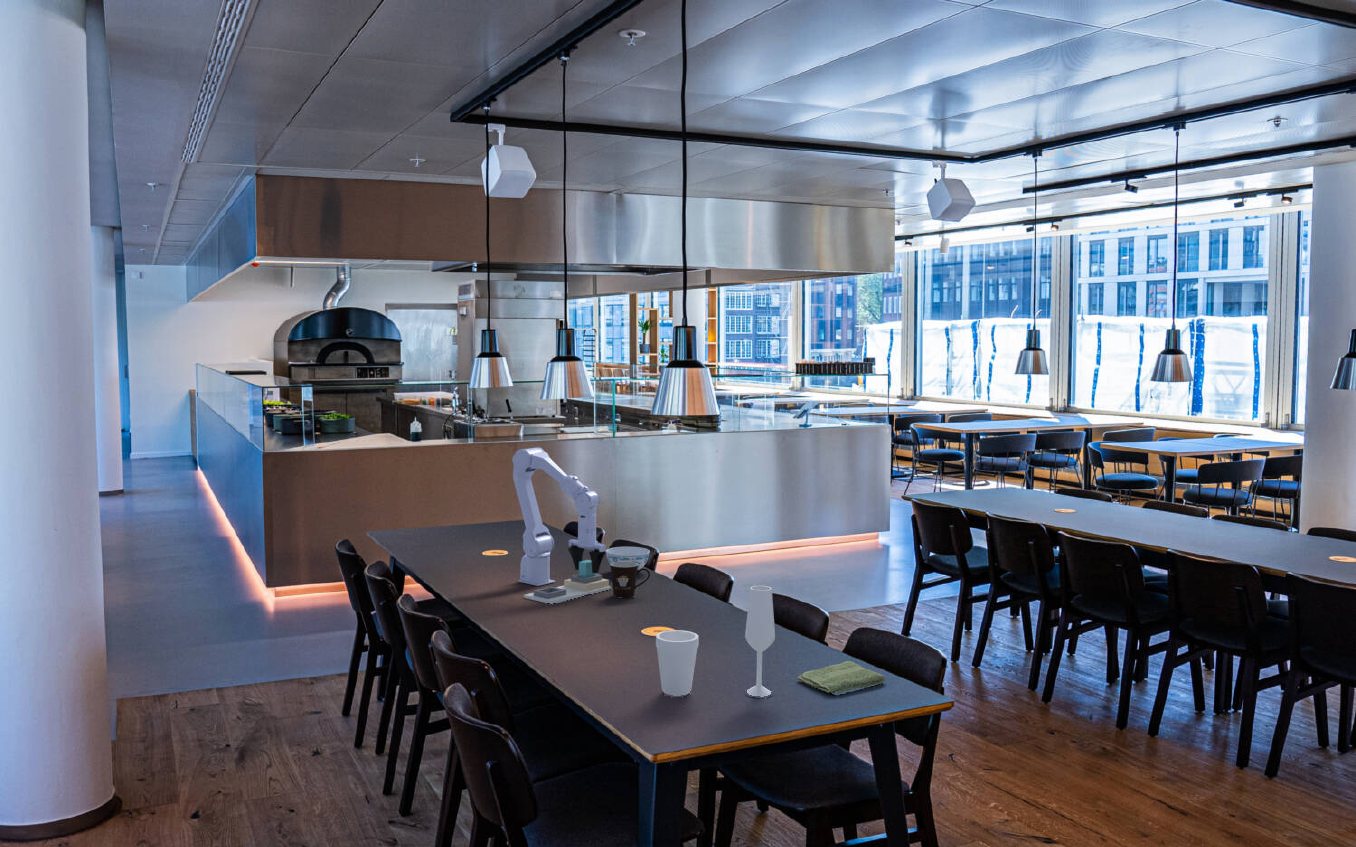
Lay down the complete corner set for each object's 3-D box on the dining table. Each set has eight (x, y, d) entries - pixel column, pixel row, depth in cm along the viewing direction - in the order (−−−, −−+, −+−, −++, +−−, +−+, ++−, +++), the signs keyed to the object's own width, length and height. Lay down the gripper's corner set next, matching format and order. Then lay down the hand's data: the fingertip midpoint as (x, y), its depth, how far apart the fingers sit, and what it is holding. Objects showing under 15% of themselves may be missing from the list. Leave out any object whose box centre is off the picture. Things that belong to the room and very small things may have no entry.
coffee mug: (604, 597, 316) (605, 565, 315) (619, 591, 324) (619, 560, 323) (637, 601, 311) (637, 569, 310) (651, 596, 318) (651, 564, 318)
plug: (578, 580, 325) (579, 561, 325) (587, 578, 328) (587, 559, 328) (585, 581, 323) (585, 563, 323) (594, 579, 326) (594, 561, 326)
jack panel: (524, 597, 313) (524, 583, 313) (584, 583, 333) (584, 570, 333) (551, 604, 306) (551, 589, 305) (611, 589, 326) (611, 575, 326)
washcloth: (793, 683, 238) (794, 669, 238) (850, 671, 248) (850, 658, 248) (831, 699, 227) (831, 685, 227) (889, 686, 237) (889, 673, 237)
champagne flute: (771, 688, 233) (774, 584, 231) (775, 698, 226) (778, 591, 224) (742, 688, 232) (744, 584, 231) (745, 698, 226) (747, 591, 224)
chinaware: (651, 569, 357) (652, 547, 357) (646, 578, 342) (646, 556, 342) (609, 567, 359) (609, 545, 358) (602, 577, 344) (602, 554, 343)
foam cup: (696, 686, 233) (697, 630, 233) (698, 700, 224) (699, 642, 223) (655, 686, 233) (655, 630, 232) (655, 700, 224) (656, 641, 223)
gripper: (612, 529, 323) (612, 572, 324) (579, 524, 332) (579, 565, 333) (596, 532, 317) (596, 576, 318) (564, 527, 327) (563, 569, 328)
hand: (586, 571), depth 325 cm, fingers open, 7 cm apart
